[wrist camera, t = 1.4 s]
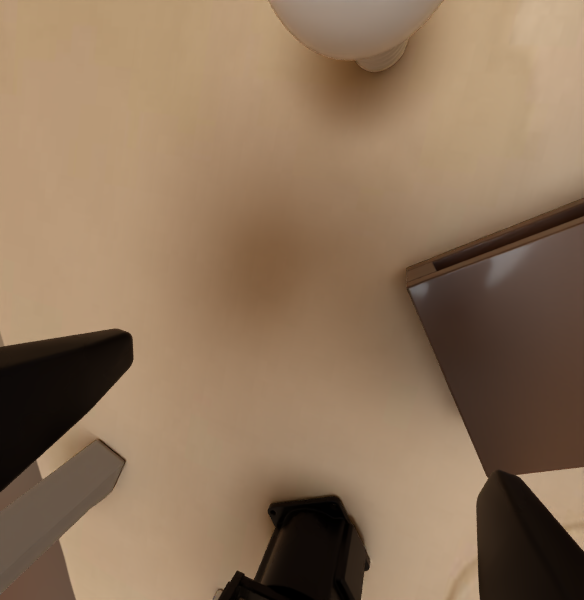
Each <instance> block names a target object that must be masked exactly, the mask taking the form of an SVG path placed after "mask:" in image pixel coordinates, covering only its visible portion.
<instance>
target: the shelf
mask: <svg viewBox="0 0 584 600" xmlns="http://www.w3.org/2000/svg"><path fill="white" fill-rule="evenodd" d="M406 275H407V291H408V293H409V295H410V298H411V300H412V302H413V305H414V307H415V309H416V312H417V314H418V316H419V319H420V321H421V323H422V326H423V328H424V330H425V333H426V335H427V337H428V340H429V342H430V345H431V347H432V349H433V352H434V354H435V356H436V359H437V361H438V363H439V366H440V368H441V370H442V373H443V375H444V377H445V380H446V382H447V384H448V387H449V389H450V391H451V394H452V396H453V398H454V401H455V403H456V406H457V408H458V410H459V413H460V415H461V417H462V420H463V422H464V424H465V427H466V429H467V431H468V434H469V436H470V438H471V441H472V443H473V445H474V448H475V450H476V452H477V455H478V457H479V459H480V462H481V464H482V466H483V469H484V471H485V474H486V476H487V477H488V478H489V477H490V475H491V473H492V472H493V471H495V470H502V471H505V472H508V473H510V474H513V475H520V474H528V473H537V472H545V471H553V470H562V469H570V468H579V467H584V198H583V199H580V200H578V201H575V202H572V203H570V204H567V205H565V206H562V207H560V208H557V209H555V210H552V211H550V212H547V213H545V214H542V215H540V216H537V217H534V218H532V219H529V220H527V221H524V222H522V223H519V224H517V225H514V226H512V227H509V228H507V229H504V230H502V231H499V232H496V233H494V234H491V235H489V236H486V237H484V238H481V239H479V240H476V241H474V242H471V243H469V244H466V245H464V246H461V247H458V248H456V249H453V250H451V251H448V252H446V253H443V254H441V255H438V256H436V257H433V258H431V259H428V260H426V261H423V262H420V263H418V264H415V265H413V266H410V267H408V268H407V273H406Z"/></svg>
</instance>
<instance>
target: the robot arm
mask: <svg viewBox="0 0 584 600" xmlns="http://www.w3.org/2000/svg"><path fill="white" fill-rule="evenodd" d="M132 362H133V339H132V336H131V334H130V333H128V332H126V331H123V330H120V329H109V330H103V331H97V332H91V333H85V334H78V335H72V336H66V337H60V338H53V339H47V340H41V341H35V342H28V343H22V344H16V345H10V346H3V347H0V492H1V491H2V490H4V489H5V488H6V487H7V486H8V485H9V484H10V483H11V482H12V481H13V480H14V479H16V478H17V477H18V476H19V475H20V474H21V473H22V472H23V471H24V470H25V469H27V468H28V467H29V466H30V465H31V464H32V463H33V462H34V461H35V460H36V459H38V458H39V457H40V456H41V455H42V454H43V453H44V452H45V451H46V450H47V449H49V448H50V447H51V446H52V445H53V444H54V443H55V442H56V441H57V440H58V439H59V438H61V437H62V436H63V435H64V434H65V433H66V432H67V431H68V430H69V429H70V428H72V427H73V426H74V425H75V424H76V423H77V422H78V421H79V420H80V419H81V418H82V417H84V416H85V415H86V414H87V413H88V412H89V411H90V410H91V409H92V408H93V407H94V406H95V405H96V403H97V402H98V401H99V400H100V399H101V398H102V397H103V396H104V395H105V394H106V393H107V392H108V390H109V389H110V388H111V387H112V386H113V385H114V384H115V383H116V382H117V381H118V380H119V379H120V377H121V376H122V375H123V374H124V373H125V372H126V371H127V370H128V369H129V368H130V366H131V365H132ZM334 504H335V505H334ZM476 513H477V546H478V578H479V593H480V600H584V551H583V550H582V549H581V548H580V547H579V545H578V544H577V543H576V542H575V541H574V540H573V539H572V537H571V536H570V535H569V534H568V533H567V532H566V530H565V529H564V528H563V527H562V526H561V525H560V523H559V522H558V521H557V520H556V519H555V518H554V516H553V515H552V514H551V513H550V512H549V511H548V509H547V508H546V507H545V506H544V505H543V504H542V502H541V501H540V500H539V499H538V498H537V497H536V495H535V494H534V493H533V492H532V491H531V490H530V488H529V487H528V486H527V485H526V484H525V483H524V481H523V480H522V479H521V478H519V477H518V476H516V475H513V474H510V473H508V472H505V471H502V470H495V471H493V472H492V473H491V475H490V477H489V478H488V480H487V482H486V483H485V485H484V487H483V488H482V490H481V492H480V493H479V495H478V498H477V504H476ZM268 514H269V516H270V517H271V519H272V521H273V523H274V525H275V529H274V532H273V534H272V537H271V539H270V542H269V544H268V547H267V549H266V551H265V554H264V556H263V559H262V561H261V564H260V566H259V569H258V571H257V574H256V576H255V578H254V580H253V579H250V578H248V577H246V576H244V575H245V574H244V573H242V572H239V571H236V573H235V575H234V576H233V578H232V580H231V581H230V582H228V583H227V585H226V587H225V588H224V590H223V592H222V593H221V595H220V597H219V598H218V600H361V594H362V585H363V577H364V571H368V570H369V568H370V560H369V558H368V556H367V554H366V550H365V548H364V545H363V543H362V541H361V539H360V537H359V535H358V533H357V531H356V529H355V527H354V525H353V524H352V523H351V522H350V520H349V517H348V515H347V513H346V511H345V509H344V507H343V505H342V503H341V501H340V500H339V499H338V498H336V497H324V498H316V499H307V500H299V501H291V502H282V503H274V504H271V505H270V506H269V508H268Z"/></svg>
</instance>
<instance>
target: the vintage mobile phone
mask: <svg viewBox="0 0 584 600" xmlns="http://www.w3.org/2000/svg"><path fill="white" fill-rule="evenodd" d="M123 464H124V460H123V459H122V458H120V457H119V456H118V455H117V454H116V453H114V452H113V451H112V450H111V449H109V448H108V447H107V446H106V445H104V444H103V443H102V442H101V441H99V440H95V441H94V442H93V443H91V444H90V445H89V446H87V447H86V448H85V449H83V450H82V451H81V452H79V453H78V454H77V455H75V456H74V457H73V458H71V459H70V460H69V461H67V462H66V463H65V464H63V465H62V466H61V467H59V468H58V469H57V470H55V471H54V472H53V473H51V474H50V475H49V476H47V477H46V478H45V479H43V480H42V481H41V482H39V483H38V484H37V485H35V486H34V487H33V488H31V489H30V490H29V491H27V492H26V493H25V494H23V495H22V496H21V497H19V498H18V499H17V500H15V501H14V502H13V503H11V504H10V505H9V506H7V507H6V508H5V509H3V510H2V511H1V512H0V594H1V593H2V592H3V591H4V590H6V588H8V586H10V585H11V584H12V583H13V582H14V581H15V580H16V579H17V578H18V577H19V576H20V575H21V574H22V573H23V572H24V571H25V570H26V569H27V568H29V567H30V566H31V565H32V564H33V563H34V562H35V561H36V560H37V559H38V558H39V557H40V556H41V555H42V554H43V553H44V552H45V551H46V550H47V549H48V548H49V547H51V546H52V545H53V544H54V543H55V542H56V541H57V540H58V539H59V538H60V537H61V536H62V535H63V534H64V533H65V532H66V531H67V530H68V529H69V528H71V527H72V526H73V525H74V524H75V523H76V522H77V521H78V520H79V519H80V518H81V517H82V516H83V515H84V514H85V513H86V512H87V511H88V510H89V509H91V508H92V507H93V506H95V505H96V504H97V503H99V502H100V501H101V500H103V499H104V498H105V497H106V496H107V495H108V494H109V493H110V492H111V491H112V490H113V487H114V485H115V483H116V480H117V478H118V476H119V474H120V471H121V469H122V467H123Z"/></svg>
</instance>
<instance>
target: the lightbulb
mask: <svg viewBox="0 0 584 600" xmlns="http://www.w3.org/2000/svg"><path fill="white" fill-rule="evenodd" d="M268 1H269V3H270V5H271V7H272V9H273V10H274V12H275V14H276V15H277V17H278V18H279V20H280V21H281V23H282V24H283V25H284V26H285V28H286V29H287V30H288V31H289V32H290V33H291V34H292V35H293V36H294V37H295V38H296V39H297V40H298V41H299V42H300V43H302V44H303V45H304V46H306V47H307V48H309V49H310V50H312V51H314V52H316V53H318V54H320V55H323V56H325V57H329V58H332V59H337V60H355V61H356V62H357V64H358V65H359V66H360V67H361V68H363V69H364V70H367V71H370V72H380V71H383V70H386V69H388V68H389V67H391V66H392V65H394V64H395V63H396V62H397V61H398V60H399V58H400V57H401V56H402V54H403V52H404V51H405V48H406V46H407V43H408V38H409V37H410V36H412V35H413V34H414V33H415V32H416V31H417V30H419V29H420V28H421V27H422V26H423V25H424V24H425V23H426V22H427V20H428V19H429V18H430V17H431V16H432V15H433V14H434V12H435V11H436V10H437V9H438V7H439V6H440V5H441V3H442V2H443V1H444V0H268Z"/></svg>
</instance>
